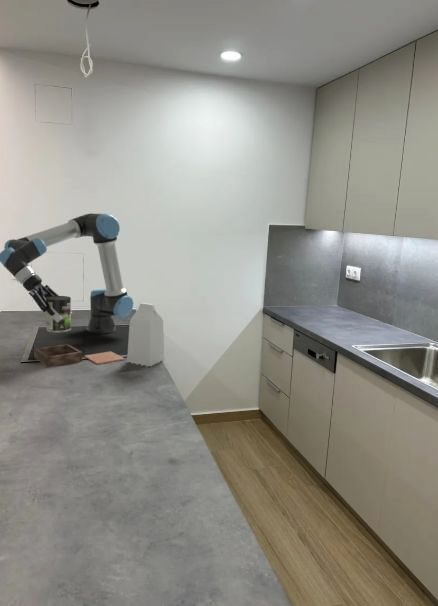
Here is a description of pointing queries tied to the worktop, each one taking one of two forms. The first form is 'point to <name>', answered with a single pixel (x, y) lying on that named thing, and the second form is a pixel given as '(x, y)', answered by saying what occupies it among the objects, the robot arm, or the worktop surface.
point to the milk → (146, 336)
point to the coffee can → (63, 309)
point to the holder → (57, 355)
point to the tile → (104, 357)
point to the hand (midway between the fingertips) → (65, 317)
